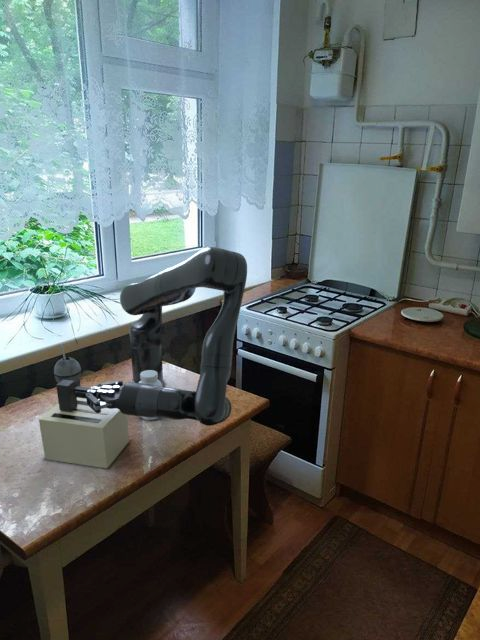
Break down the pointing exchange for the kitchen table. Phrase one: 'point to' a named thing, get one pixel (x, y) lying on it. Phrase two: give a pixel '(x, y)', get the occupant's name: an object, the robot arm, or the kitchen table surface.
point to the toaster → (84, 435)
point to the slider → (66, 395)
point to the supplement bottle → (149, 382)
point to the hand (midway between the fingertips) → (75, 391)
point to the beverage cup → (67, 370)
